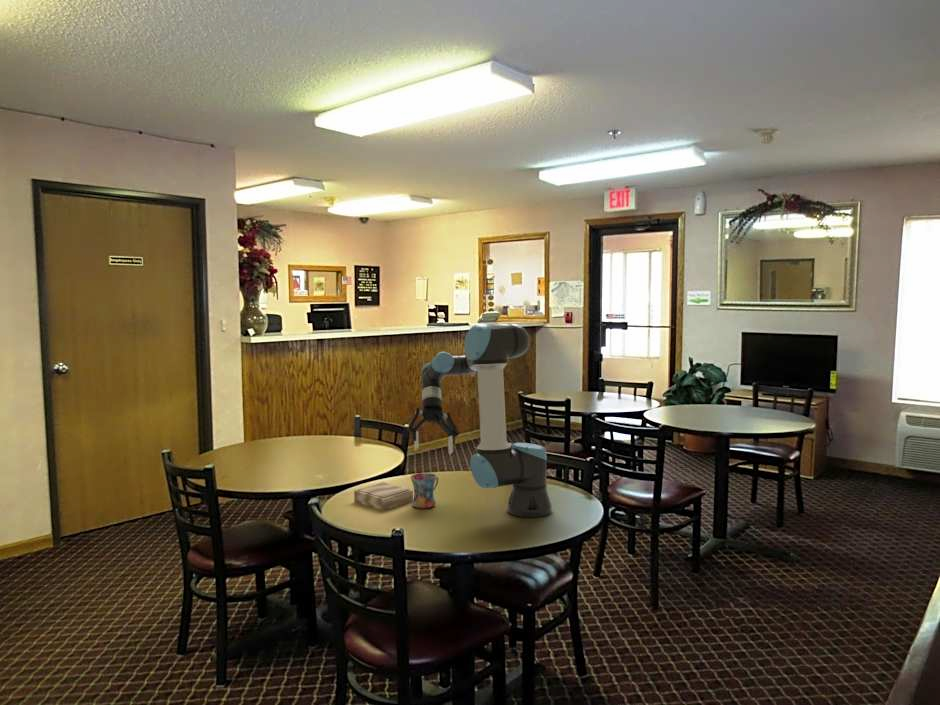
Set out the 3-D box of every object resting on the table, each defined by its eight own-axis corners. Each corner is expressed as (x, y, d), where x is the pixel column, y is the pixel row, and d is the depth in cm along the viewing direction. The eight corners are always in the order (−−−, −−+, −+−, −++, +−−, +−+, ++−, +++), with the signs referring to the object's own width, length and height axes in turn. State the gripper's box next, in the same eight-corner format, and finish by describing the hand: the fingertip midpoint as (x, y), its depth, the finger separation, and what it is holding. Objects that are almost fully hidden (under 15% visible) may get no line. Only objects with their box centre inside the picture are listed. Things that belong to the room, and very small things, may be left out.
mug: (424, 511, 222) (423, 481, 221) (405, 506, 228) (404, 477, 227) (447, 503, 231) (447, 474, 230) (428, 498, 237) (428, 470, 236)
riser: (412, 500, 234) (412, 489, 234) (383, 510, 224) (383, 498, 223) (383, 492, 245) (383, 481, 244) (354, 501, 234) (354, 489, 234)
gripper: (458, 409, 257) (461, 458, 246) (398, 400, 248) (398, 451, 237) (465, 400, 251) (468, 450, 240) (404, 391, 242) (405, 442, 231)
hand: (434, 451), depth 238 cm, fingers open, 13 cm apart
